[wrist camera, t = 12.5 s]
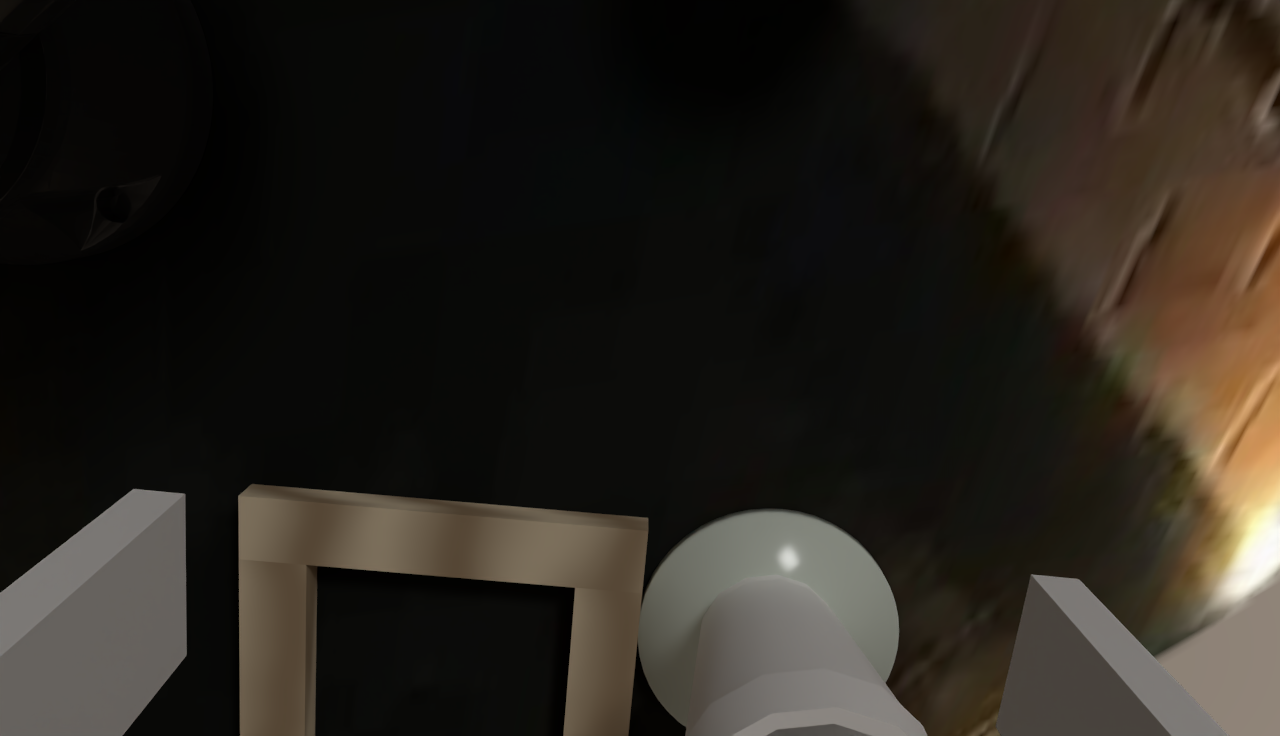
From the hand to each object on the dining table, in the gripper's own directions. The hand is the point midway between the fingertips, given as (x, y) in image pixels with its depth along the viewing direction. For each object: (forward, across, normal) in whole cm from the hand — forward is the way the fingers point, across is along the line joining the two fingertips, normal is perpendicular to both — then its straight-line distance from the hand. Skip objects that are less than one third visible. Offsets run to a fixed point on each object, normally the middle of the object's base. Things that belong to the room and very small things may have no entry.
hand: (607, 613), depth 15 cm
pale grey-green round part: (+27, +9, -15) cm, 32 cm away
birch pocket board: (+28, -6, -20) cm, 34 cm away
